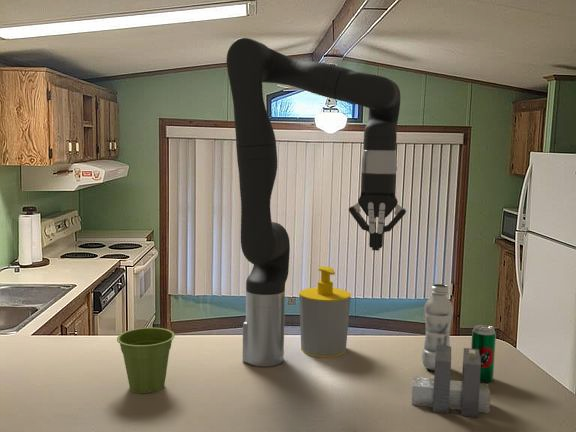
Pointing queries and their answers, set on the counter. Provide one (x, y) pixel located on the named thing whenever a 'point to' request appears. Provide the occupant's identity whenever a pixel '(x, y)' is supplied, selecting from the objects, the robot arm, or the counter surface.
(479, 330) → the soda can
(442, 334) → the plastic bottle
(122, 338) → the plant pot
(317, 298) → the soap bottle
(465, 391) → the collar
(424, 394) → the pale grey rectangular bar
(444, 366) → the collar
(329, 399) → the counter surface
